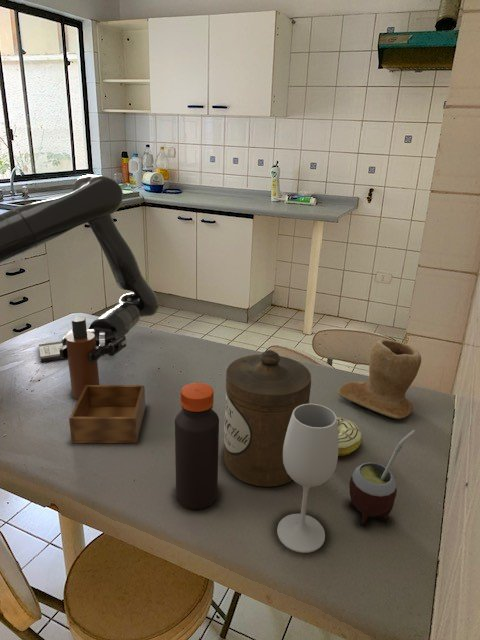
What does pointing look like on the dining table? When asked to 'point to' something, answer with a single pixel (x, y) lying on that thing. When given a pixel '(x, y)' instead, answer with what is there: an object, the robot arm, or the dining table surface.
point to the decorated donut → (347, 436)
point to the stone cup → (386, 380)
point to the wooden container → (261, 415)
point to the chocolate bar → (50, 351)
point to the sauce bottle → (81, 357)
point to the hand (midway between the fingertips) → (76, 356)
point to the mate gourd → (374, 488)
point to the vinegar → (196, 447)
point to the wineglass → (308, 470)
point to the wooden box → (108, 414)
